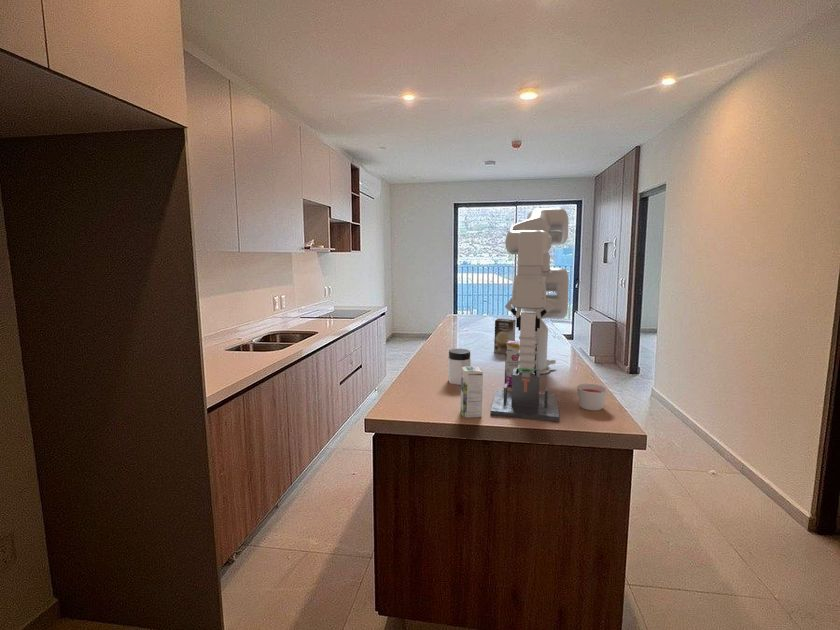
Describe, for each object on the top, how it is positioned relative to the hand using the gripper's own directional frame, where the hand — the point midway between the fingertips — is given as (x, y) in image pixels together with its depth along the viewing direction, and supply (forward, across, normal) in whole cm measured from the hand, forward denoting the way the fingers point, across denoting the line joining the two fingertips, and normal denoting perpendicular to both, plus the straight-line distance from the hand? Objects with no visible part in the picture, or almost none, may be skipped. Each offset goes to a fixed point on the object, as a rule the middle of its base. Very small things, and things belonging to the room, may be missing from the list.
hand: (527, 329), depth 135 cm
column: (+17, 0, 0) cm, 17 cm away
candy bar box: (+26, +2, -21) cm, 33 cm away
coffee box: (+26, +12, -72) cm, 77 cm away
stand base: (+25, 0, 0) cm, 25 cm away
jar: (+26, +25, -21) cm, 41 cm away
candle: (+26, -20, -5) cm, 33 cm away
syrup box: (+25, +16, +11) cm, 32 cm away
